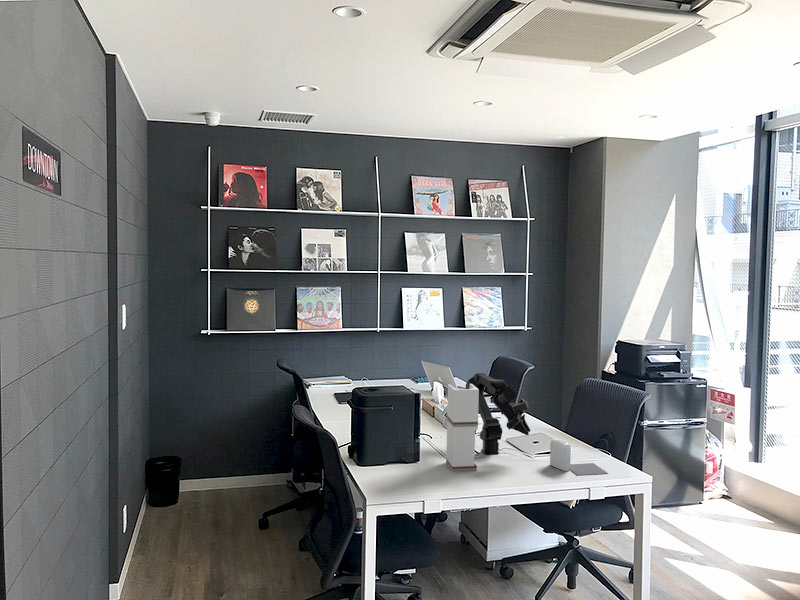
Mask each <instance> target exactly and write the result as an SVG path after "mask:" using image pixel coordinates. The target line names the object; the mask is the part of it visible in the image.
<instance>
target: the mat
mask: <svg viewBox="0 0 800 600" xmlns="http://www.w3.org/2000/svg"><path fill="white" fill-rule="evenodd" d="M569 471H570V472H572V473H573V474H575V475H576V476H593V475H607V474H608V475H609V472H608V471H606V470H604V469H603V468H601V467H599V466H598V465H597V464H595V463H594V462H591V463H590V462H589V463H588V462H587V463H570V470H569Z"/></svg>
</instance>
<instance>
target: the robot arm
mask: <svg viewBox="0 0 800 600" xmlns="http://www.w3.org/2000/svg"><path fill="white" fill-rule="evenodd" d="M470 384H473V385H474V386H475V387H476V388H478V389H479V405H478V414H479V415H480V417H481V420H482V423H483V425H482V427H481V431H480V433H479V439H480V440H481V441H482V449H481V452H483V454H485V455H498V454H500V453H499V450H500V449H499V445H500V443H499V441H501V439H502V437H503V436H502V435H503V427H502V425H501V423H500V421H499V419H498V418H493V417H494V416H493V415H492V413H491V410H490V407H489V405H488V403H487V400H486V396H485V395H484V392H485V388H487V391H488V392H489V393H490V394H495V395H492V396H490V401H489V403H490V404H494V405H495V406H496V408H497V409H498V410H499V411H500V414H501V415H504V417H505V418H506V419H507V422H506V428H507V429H508V430H514V431H516V432H519V433H521V434H523V435H526V436H529V434H530V432H531V428H530V426H529V425H528V423H527V421H526V411H527V410H528V409H529V408H530V407H529V402H528V401H527V400H524V399H523V398H521V399H519V400H518V403H516V404H515V403H513V401H514V400H515V399H516V395H517V394H516V392H515V390H514V389H512V388H511V386H510V385H508V384H507V382H506V381H505V380H504V379H495V378H494V377H491V376H490V375H488V374H486V373H484V372H481V373H479V372H477V373H475V374H474V375H473V377H470V378H469V379H468V380H467V382H466V383H465V389H470Z"/></svg>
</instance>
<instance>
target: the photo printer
mask: <svg viewBox="0 0 800 600" xmlns="http://www.w3.org/2000/svg"><path fill="white" fill-rule="evenodd" d="M549 445H550V447H549V464H550V466H552V467H555V468H557V469H559V470H560V471H563V472H568V471H571V470H570V464H571V452H572V451H571V449H572V448H571V445H570V444H569V443H568V442H567V441H565V440H564V439H561V438H553V439H552V440H551V441H550V444H549Z"/></svg>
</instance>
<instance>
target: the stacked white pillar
mask: <svg viewBox="0 0 800 600" xmlns="http://www.w3.org/2000/svg"><path fill="white" fill-rule="evenodd" d="M446 403H447V406H446V409H447V412H446V413H447V414H446V451H445V452H446V454H445V455H446V456H445V457H446V458H445V460H446V461H445V463H446V465H447V466H448V467H449V470H450V471H451V472H453V473H455V472H473V471H474V472H475V471H478V469H477V468H478V466H477V464H476V463H475V454H476V453H475V451H476V450H475V448H476V445H475V444H476V431H477V430H478V429H479V410H478V405H479V389H478V388H476V387H475V386H474V385H473V384H470V389H466V388H457V387H454V386H453V385H452V384H450V383H449V384H447V402H446Z"/></svg>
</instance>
